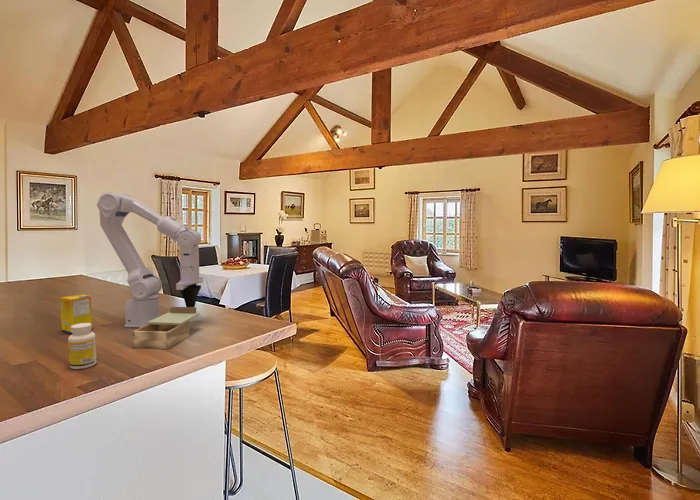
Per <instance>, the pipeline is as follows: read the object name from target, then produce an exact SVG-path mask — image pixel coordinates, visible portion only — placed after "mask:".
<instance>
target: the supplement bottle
mask: <svg viewBox="0 0 700 500" xmlns="http://www.w3.org/2000/svg"><path fill="white" fill-rule="evenodd" d="M92 328H93V325H92V326H91V323H80V324H75V325H72V326H71V333H73V334H72V335H71V334H69V336H68V338H67V345H68V346H67V347H68V361H69V363H68V364H69V367H70V369H73V370H81V369H82V370H83V369H87V368H90V367H93V366H95V365H96V364H97V361H98V355H97V354H98V353H97V338H96V333H95V332H93V331H92V330H93V329H92Z"/></svg>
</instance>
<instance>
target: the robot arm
mask: <svg viewBox="0 0 700 500" xmlns="http://www.w3.org/2000/svg"><path fill="white" fill-rule="evenodd" d="M96 203H97V204H96V206H97V209H98V211H99V224H100V227H101V229H102V231H103V232H104V234H105V236H106V237H107V240H108V241H109V243H110V244H111V247H112V249H113V250H114V251H115V254H116V255H117V257H118V258H119V260H120V262H121V263H122V266H123V267H124V269H125V270H126V272H127V274H128V276H127V279H126V282H127V284H128V286H129V293H130V295H131V296H132V297H130V298H128V300H127V301H126V303H125V308H124V310H125V312H124V314H125V317H124V318H125V325H124V328H141V327H143V326H145V325H147V322H148V321H151V320H153V319H155V318H157V317H159V316H160V295H159V292H161V290H162V288H163V283H162V280H161V279H160V278H159V277H158V276H156V275H155V273H154V272H153V270H152V269H150V268H148V267H147V266H146V265H145V263H144V262H143V260H142V257H141V256H140V254H139V252H138V250H137V249H136V247H135V246H134V244H133V242H132V241H131V239H130V237H129V235H128V234H127V232H126V230H125V228H124V226H123V222H124V221H125V219H126V217H127V216H128V215H129V213H134V214H136V215H138V216H139V217H141V218H142V219H145V220H147V221H149V223H152V224H154V225H156V228H157V231H158V232H160V233H161V234H162V235H163V234H164V235H165V236H166V237H168V238H170V239H171V240H173V241H174V242H176V244H177V245H178V247H179V270H180V271H179V272H180V274H179V275H180V280H179V281H178V282H177V283H175V289H176V290H177V291H179V292H180V294H181V295H182V297H183V301H184V304H185V307H196V303H197V298H198V295H199V292H200V290H201V288H202V285H200V284H203V282H204V279H203V278H204V277H203V276H200V252H199V251H200V249H199V247H200V243H201V242H202V241H201V240H202V236H201V234H200V233H199V232H198V230H196V229H194V228H193V229H190V226H189V225H184V224H182V223H181V222H180V221H177V218H176V217H175V216H169V215H168V216H167V215H166V216H162V215H161V214H159V213H158V212H157V211H155V210H153V209H152V208H150V207H149V206H148V205H146V204H144V203H143V202H142V201H140V200H138V199H137V198H135V197H133V196H131V195H129V194H127V193H117V192H115V193H114V192H112V191H105V192H103V193H102V194H101V195H100V197H99V199H98V200H97V202H96ZM198 284H199V285H198Z"/></svg>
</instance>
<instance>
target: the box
mask: <svg viewBox="0 0 700 500" xmlns="http://www.w3.org/2000/svg"><path fill="white" fill-rule="evenodd" d="M131 333H132V348H134V349H160V350H161V349H162V350H163V349H164V350H169V349H171V348H172V347H174V346H176V345H177V344H179V343H180V342H182V341H183V340H185V339H187V338H189V336H190V335H191V334H190V333H191V332H190V320H189V321H188V322H186V323H184V324H182V325H162V324H147V325H145V326H143V327H138V328H137V329H134V330H133V331H131Z"/></svg>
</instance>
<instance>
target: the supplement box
mask: <svg viewBox="0 0 700 500" xmlns="http://www.w3.org/2000/svg"><path fill="white" fill-rule="evenodd" d="M59 302H60V306H59V307H60V318H61V319H60V321H61V322H60V323H61V332H62V333H64V334H68V335H72V334H73V333H71V326H72V325H75V324H80V323H91V326H92V330H93V328H94V327H93V314H92V313H93V310H92V296H91V295H88V294H82V293H80V294H73V295H68V296H60V297H59Z"/></svg>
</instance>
